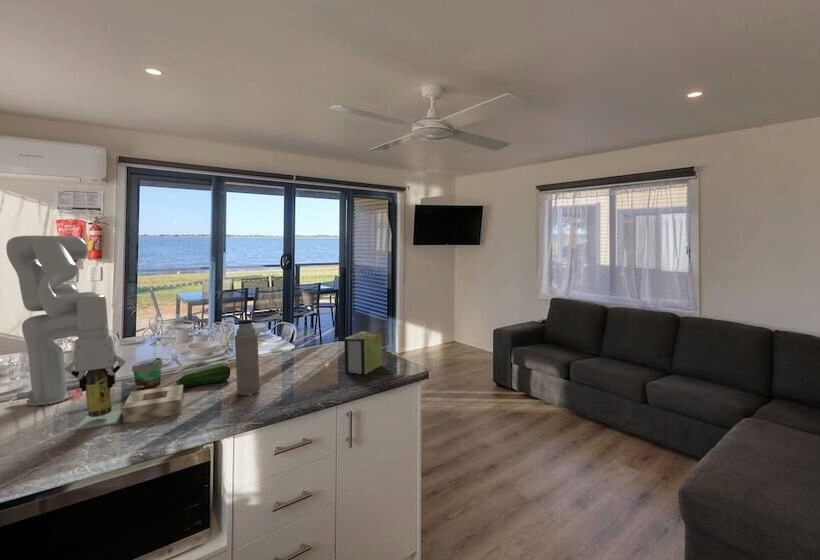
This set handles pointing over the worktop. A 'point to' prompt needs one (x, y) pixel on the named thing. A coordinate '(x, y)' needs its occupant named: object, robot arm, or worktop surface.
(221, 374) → the vegetable
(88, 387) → the sauce bottle
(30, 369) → the robot arm
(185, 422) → the worktop surface
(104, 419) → the pad
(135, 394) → the socket block
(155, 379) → the food container
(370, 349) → the protein box
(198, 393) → the worktop surface
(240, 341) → the thermos bottle
